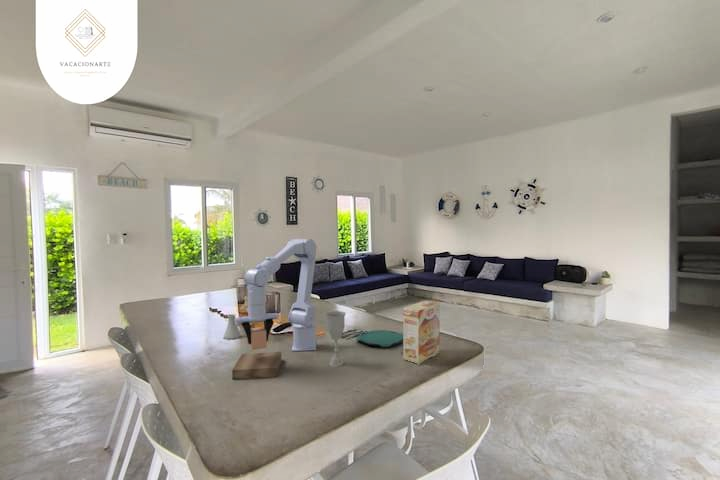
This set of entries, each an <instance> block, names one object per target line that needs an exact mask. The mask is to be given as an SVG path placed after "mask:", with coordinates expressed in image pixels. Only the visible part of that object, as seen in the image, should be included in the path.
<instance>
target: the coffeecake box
mask: <svg viewBox="0 0 720 480" xmlns="http://www.w3.org/2000/svg"><path fill="white" fill-rule="evenodd" d="M440 305H441V302H440V303H439V302H435V301H429V300H428V301H427V300H423V301H420V302H417V303H414V304H410V305H408V306H404V307H403V308H402V310H403V312H402V313H403V317H402V318H403V321H402V322H403V326H402V327H403V328H402V330H403V332H402V334H403V341H402V344H403V347H402V348H403V349H402V350H403V351H402V352H403V355H402V356H403V357H402V358H403V359H405V360H408V361H407V362H409V361H411V362H410V363H412V362H415V363H418V364H419V363H421V362H423V361H424V360H426V359H428V358H429V357H431V356H432V355H434V354H436V353H437V352H439V351H440V352H441V350H440V333H441V332H440V331H441V330H440V322H441V321H440V320H441V318H440V316H441V315H440V314H441V313H440V310H441V309H440ZM403 359H402V360H403ZM405 360H404V361H405ZM428 360H429V359H428ZM426 361H427V360H426ZM423 363H424V362H423ZM418 364H417V365H418ZM421 364H422V363H421ZM419 365H420V364H419Z"/></svg>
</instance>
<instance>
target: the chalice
mask: <svg viewBox="0 0 720 480" xmlns="http://www.w3.org/2000/svg"><path fill="white" fill-rule="evenodd" d="M346 314H347V313H346V312H345V311H337V310H336V311H329V312H326V313H325V316H326V328H327V331H328V334H329V336H330V337H331V339H332V340H334V344H333V346H334V349H333V351H334V355H333V356H332V357H331V359H330V361H329V366H331V367H340V366H342V365H344V361H343V359H342V356H341V355H339V350H340V349H339V348H338V346H339V343H338V342H339V341H338V340H340V339H341V336H343V335H342V333H344V330H345V325H346V324H345V317H346Z"/></svg>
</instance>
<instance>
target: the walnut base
mask: <svg viewBox="0 0 720 480" xmlns="http://www.w3.org/2000/svg"><path fill="white" fill-rule="evenodd" d="M281 363H282V351H275V352H273V351H271V352H257V353H255V352H254V353H241V355H240V356H239V358H238V360H237V361H236V363H235V365H234V367H233V368H232V370H231V371H232V372H231V377H232V380H242V379H243V380H244V379H256V378H257V379H258V378H273V377H274V378H276V377H277V376H278V372H279V369H280V366H281Z"/></svg>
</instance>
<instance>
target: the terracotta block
mask: <svg viewBox="0 0 720 480" xmlns="http://www.w3.org/2000/svg"><path fill="white" fill-rule="evenodd" d="M248 345H249V347H250V350H251V351H255V350H260V349H267V348H268V347H267V346H268V345H267V342H266V330H265V328H264V326H261V327H254V328H253V327H251V344H248Z"/></svg>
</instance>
